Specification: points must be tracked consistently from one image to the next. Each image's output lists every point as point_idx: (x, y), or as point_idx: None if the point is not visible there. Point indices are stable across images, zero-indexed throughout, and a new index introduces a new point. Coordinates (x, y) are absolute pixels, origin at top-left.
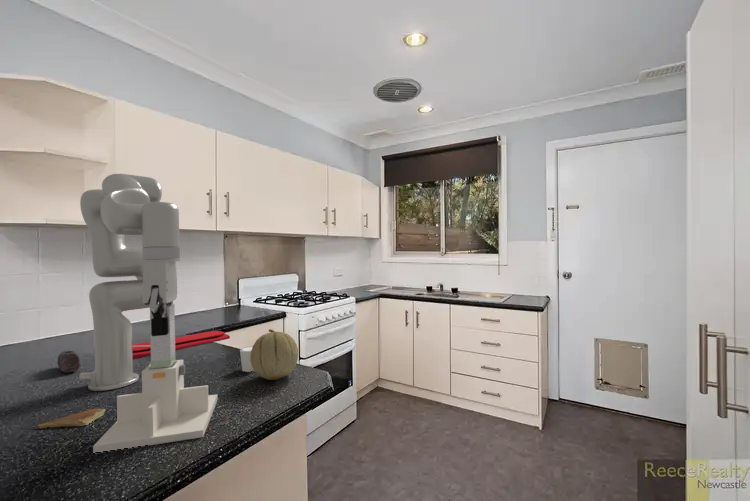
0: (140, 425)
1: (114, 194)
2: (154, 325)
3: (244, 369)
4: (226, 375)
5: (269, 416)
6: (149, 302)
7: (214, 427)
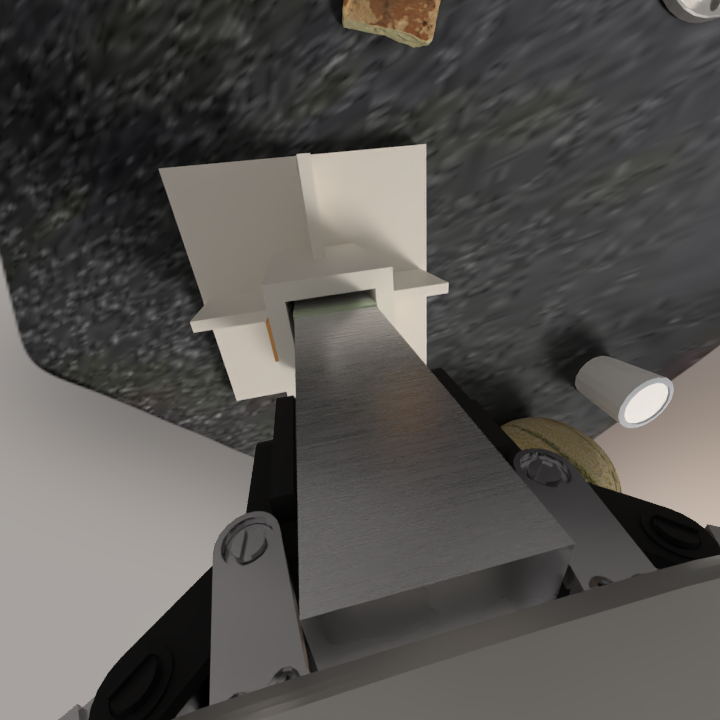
0: (273, 246)
1: None
2: (253, 479)
3: (588, 367)
4: (579, 328)
5: None
6: (438, 675)
7: None
